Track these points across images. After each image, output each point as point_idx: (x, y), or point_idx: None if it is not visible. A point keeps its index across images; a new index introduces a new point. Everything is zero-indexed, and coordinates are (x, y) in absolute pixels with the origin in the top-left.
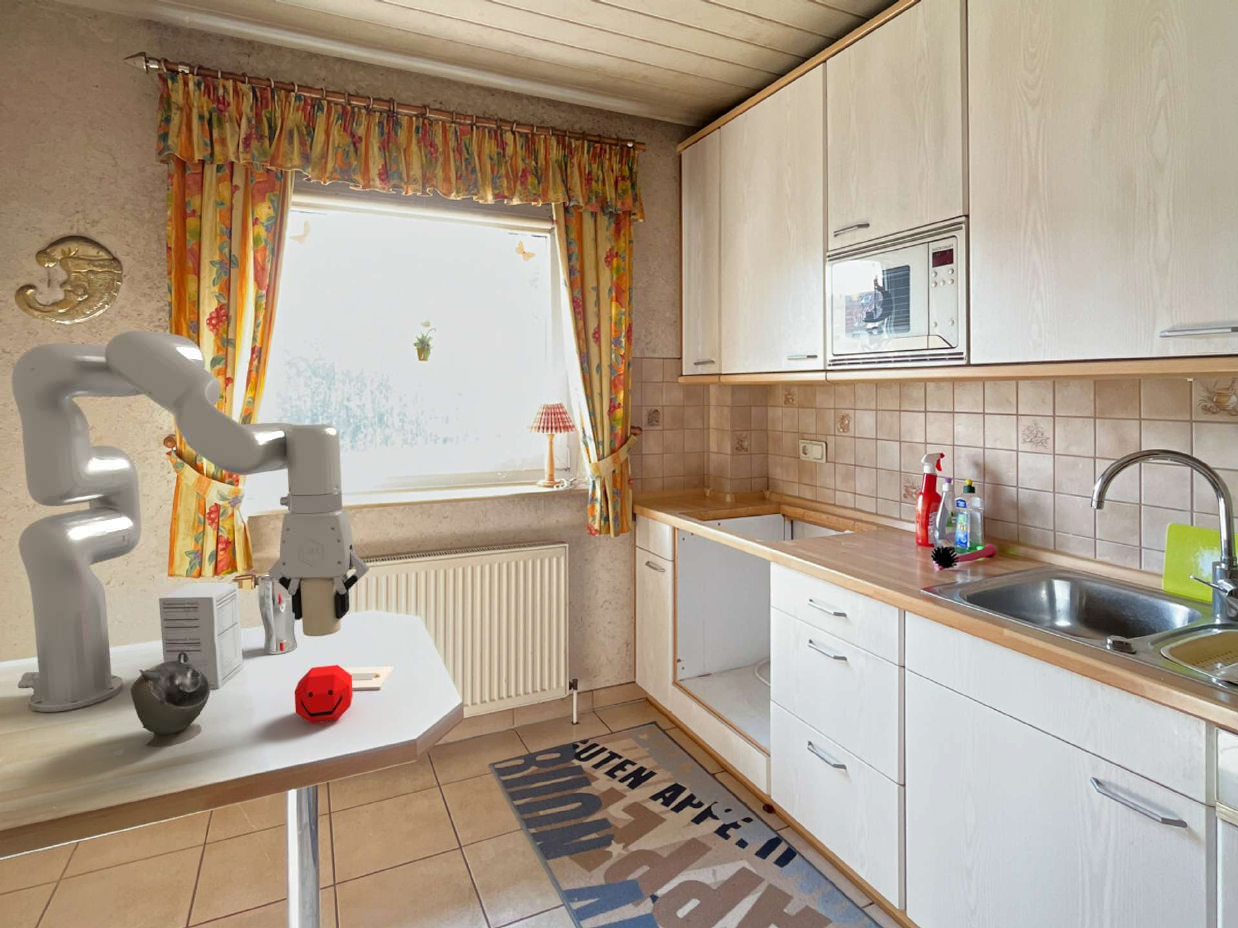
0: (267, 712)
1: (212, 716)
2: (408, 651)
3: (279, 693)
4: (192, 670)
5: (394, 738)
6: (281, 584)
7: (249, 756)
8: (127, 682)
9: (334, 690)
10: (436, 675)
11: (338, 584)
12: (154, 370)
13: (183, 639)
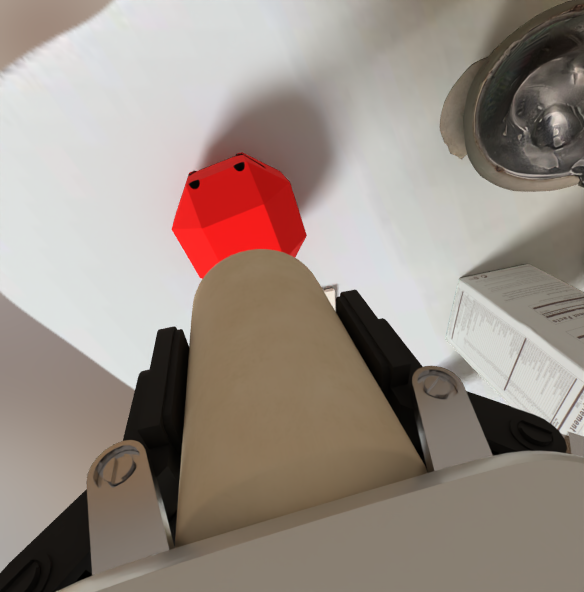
0: (352, 211)
1: (438, 187)
2: None
3: (361, 277)
4: (554, 143)
5: (3, 115)
6: (522, 413)
7: (302, 7)
8: (580, 277)
9: (187, 190)
10: (121, 375)
11: (133, 506)
12: None
13: (580, 314)
